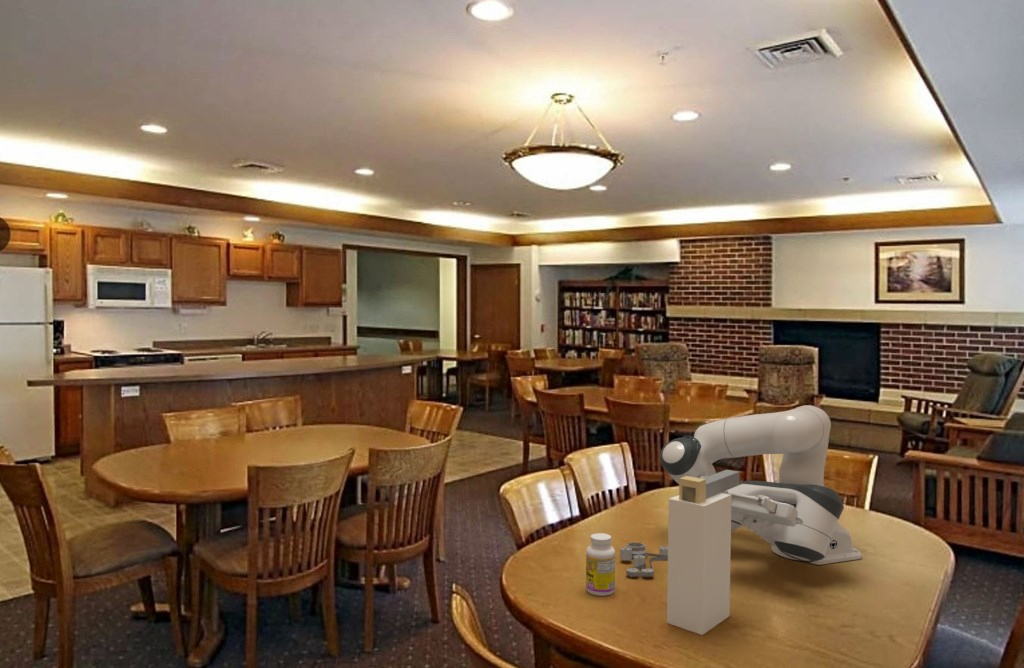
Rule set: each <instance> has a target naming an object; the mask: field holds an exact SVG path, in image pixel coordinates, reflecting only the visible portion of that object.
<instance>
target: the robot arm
mask: <svg viewBox="0 0 1024 668" xmlns="http://www.w3.org/2000/svg"><path fill="white" fill-rule="evenodd" d="M831 427H832V423H831V418H830V416H829V415H828V414H827V413H826V411H825V410H824V409H821V408H820V407H817V406H815V405H801V406H798V407H795V408H792V409H789V410H784V411H777V412H768V413H759V414H758V413H757V414H750V415H749V414H748V415H742V416H736V417H728V418H723V419H719V420H714V421H712V422H709V423H705V424H702V425H700V426H698V427H697V429H696V430H695V432H694V435H693V436H691V435H684V436H682V437H677V438H674V439H672V440H670V441H668V442H666V443H665V445H664V446H663V447H662V449H661V450H660V453H659V461H660V464H661V467H663V469H664V471H665V472H666V473H667V474H668V475H670V477H671V478H672V479H673V480H674V481H675V482H676V483H677V484H678V485H679V478H682V477H685V476H690V477H696V478H701V479H702V478H705V477H708V476H711V475H713V474H716V473H719V471H718V469H717V468H716V467H715V466H714V464H713V463H715V462H717V461H720V460H723V459H731V458H733V459H734V458H741V457H742V458H743V457H749V456H759V455H782V458H781V463H780V465H779V469H778V482H774V481H773V482H772V481H764V480H744V481H743V482H741V483H739V485H738V486H736V487H733V488H731V489H729V490H726V491H724V492H721V493H725V494H730V495H731V532H732V531H736V530H737V529H739V528H741V527H744V528H746V529H747V530H750V531H752V532H754V533H755V534H756V535H758V536H759V537H760V538H761V539H762V540H763V541H765V542H766V543H768V544H770V545H771V547H770V549H771V552H773V553H775V554H776V555H778V556H781V557H783V558H786V559H790V560H795V561H801V562H804V563H810V564H813V565H817V566H818V565H827V564H833V563H839V562H840V563H841V562H848V561H855V560H861V559H862V558H863V557H862V552H861V551H860V550H858V548H855V547H854V546H853V542H852V536H851V533H850V532H849V531H848V530H847V529H846V528H845V527H844V526H843V525H841V524H840V523H839V522H838V520H840V517H841V515H842V513H843V512H844V509H845V506H844V503H843V500H842V498H841V496H840V495H839V493H838V492H837V491H836V490H835V489H833V488H830V487H828V486H826V485H824V482H825V481H824V479H825V478H824V476H825V466H826V461H827V455H828V447H829V442H830V441H829V440H830V434H831V433H830V432H831ZM677 494H678V495H679V493H677Z"/></svg>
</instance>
